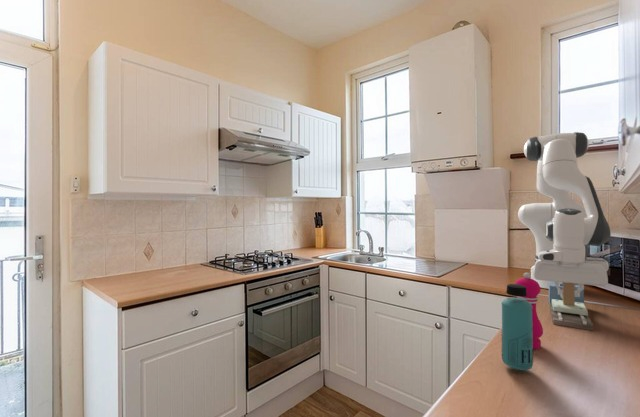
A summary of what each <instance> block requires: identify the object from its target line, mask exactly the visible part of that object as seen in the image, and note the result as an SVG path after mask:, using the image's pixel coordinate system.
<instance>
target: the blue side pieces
mask: <svg viewBox="0 0 640 417" xmlns="http://www.w3.org/2000/svg"><path fill="white" fill-rule="evenodd" d="M558 286H559V288H560V289H563V286H562V284H560V283H559V285H558ZM578 288H579V286H578V284H575V291H577V290H578ZM552 299H556V300H563V295H558V289H557V288H556V286H555V285H554V283H550V282H549V289H548V305H549V306H550V303H552ZM575 302H580V303H584V304H585V288H583V290H582V291H581V292H580V297H575Z"/></svg>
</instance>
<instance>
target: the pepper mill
mask: <svg viewBox="0 0 640 417" xmlns="http://www.w3.org/2000/svg"><path fill="white" fill-rule="evenodd" d="M522 275H523V277H521V278H518V279H517V280H516V281H515V283H514V284H518V285H523V286H525V287H526V291H527V296H516V298H522V299H525V300H527V301H528V302H529V303H530V304H531V305H532V324H533V350H539V349H541V347H542V345H541V344H542V341H541V339H540V338H541V337H542V336H543V334H544V328H543V325H542V323H541V320H540V319H539V316H538V313H537V303H539V297H538V295H539V294H540V293H541V287H540V286H539V284H538V282H536V281H535V280H533V279H531V273H530V272H524V273H523V274H522Z"/></svg>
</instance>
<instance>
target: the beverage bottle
mask: <svg viewBox="0 0 640 417" xmlns="http://www.w3.org/2000/svg"><path fill="white" fill-rule="evenodd" d="M506 294H507V295H509V296H510V297H509V296H508V297H506V298H504V299H503V300H502V301H501V334H500V336H501V338H500V340H501V341H500V343H501V344H500V345H501V360H502V362H503V363H504V365H506V366H508V367H510V368H512V369H515V370H520V371H521V370H522V371H528V370H531V369H533V366H534V363H535V361H534V358H535V357H534V356H535V355H534V349H533V324H532V305H531V304H530V303H529V302H528V301H527V300H525V299H522V298H517V296H527V291H526V287H525V286H523V285H518V284H515V283H509V284H507V285H506ZM511 296H513V297H511Z"/></svg>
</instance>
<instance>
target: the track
mask: <svg viewBox="0 0 640 417" xmlns="http://www.w3.org/2000/svg"><path fill="white" fill-rule="evenodd" d="M549 311H550V316H551V319H552V320H551V321H552V324H553V325H557V326H563V327H570V328H576V329H581V330H587V331H594V330H595V328H594V327H595V326H594V324H593V322H592V320H591V318H590V317H589V315H588V316H587V315H580V314H573V313H566V312H559V311H553V306H552V303H550V307H549Z"/></svg>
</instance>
